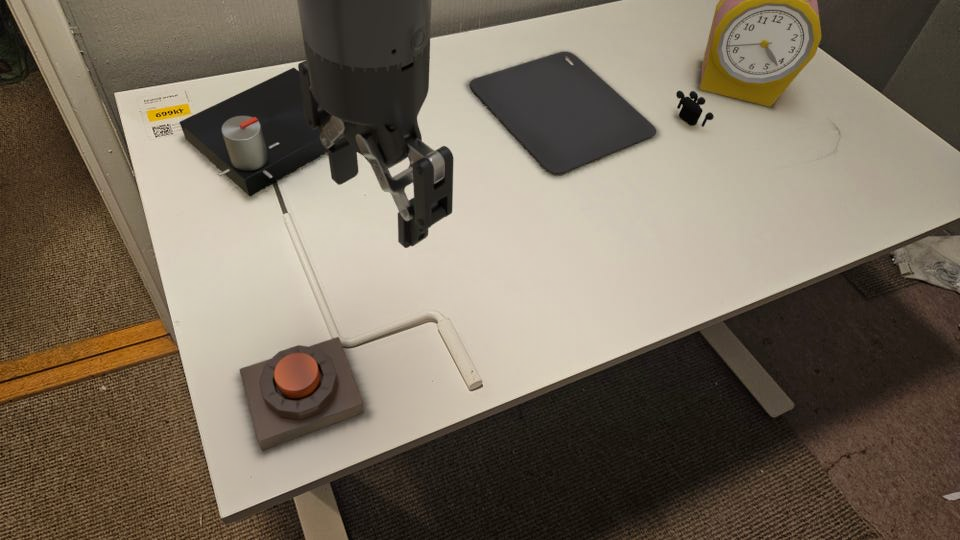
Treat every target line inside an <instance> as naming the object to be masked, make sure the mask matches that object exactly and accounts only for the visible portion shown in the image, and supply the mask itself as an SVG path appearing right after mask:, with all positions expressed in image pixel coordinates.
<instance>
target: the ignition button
mask: <svg viewBox="0 0 960 540" xmlns="http://www.w3.org/2000/svg"><path fill="white" fill-rule="evenodd" d="M274 378H275V381H276V384H277V386H278V389H279V391H280V392H281V393H282V394H283V395H285V396H286V397H289V398H294V399H298V398H303V397H306V396H308V395H310V394H311V393H312V392H313V391H314V390H315V389H316V388H317V386H318V384H319V382H320V373H319V369H318V365H317V362H316V361H315V359H314V358H313V357H311V356H310V355H308V354H305V353H292V354H289V355H287V356H285V357H284V358H282V359H281V360H280V361H279V362H278V364H277V365H276V368H275V371H274Z"/></svg>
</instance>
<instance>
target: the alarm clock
mask: <svg viewBox="0 0 960 540" xmlns="http://www.w3.org/2000/svg"><path fill="white" fill-rule="evenodd" d="M818 4H819V3H818V0H719V1H717V4H716V5H715V9H714V13H713V18H712V22H711V26H710V30H709V34H708V39H707V43H706V46H705V51H704V55H703V60H702V64H701V74H700V83H699V84H700V86H699V90H701V91H703V92H704V91H705V92H709V93H713V94H716V95H720V96H723V97H724V96H725V97H729V98H733V99H736V100H740V101H745V102H749V103H752V104H757V105H761V106H765V107H768V108H770V107H772V106H773V104H774V103H775V102H776V101H777V99H778V98H779V97H781V95H782V94H783V93H784V92H785V90H786V89H787V88H788V87H789V86H790V85H791V83H792V82H793V81H794V80H795V79H796V77H798V75H800V73H801V72H802V71H803V70H804V68H805V67H806V66H807V65H808V64H809V63H810V62H811V61H812V59H814V57H815V56H816V54H817V50H818V48H819V45H820V44H821V40H822V29H821V19H820V13H819V5H818Z"/></svg>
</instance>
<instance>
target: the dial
mask: <svg viewBox="0 0 960 540" xmlns="http://www.w3.org/2000/svg"><path fill="white" fill-rule="evenodd" d="M221 131H222V134H223V138H224V141H225V144H226V147H227V150H228V154H229V157H230V160H231V163H232V165H233V166H234V167H235V168H236V169H238V170H241V171H255V170H258V169H260V168H262V167H263V166H264V165H265V164H266V163H267V161H268V154H267V150H266V146H265V141H264V137H263V133H262V129H261V125H260V123H259V121H258V119H257V118H256V117H250V116H236V117H233V118H230V119H229V120H227V121H226V122H225V123H224V124H223V126H222V129H221Z"/></svg>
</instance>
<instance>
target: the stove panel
mask: <svg viewBox="0 0 960 540" xmlns="http://www.w3.org/2000/svg"><path fill="white" fill-rule="evenodd" d="M319 108H322V107H321V106H320V105H318V108H317V109H319ZM236 116H250V117H256V118H257V119H258V121H259V123H260V125H261V129H262V133H263V137H264V141H265V146H266V150H267V154H268V161H267V163H266V164H265V165H264V166H263V167H262V168H260V169H258V170H255V171H241V170H238V169H236V168H235V167H234V166H233V165H232V163H231V160H230V157H229V154H228V150H227V147H226V144H225V141H224V138H223V134H222V131H221V129H222V126H223V124H224V123H225V122H226V121H227V120H229V119H230V118H233V117H236ZM179 125H180V127H181V131H182V133H183V135H184V138H185V140H186V141H187V142H188V143H189V144H190V145H191V146H192V147H194V148H195V149H196V150H197V151H198V152H199V153H200V154H202V155H203V156H204V157H205V158H206V159H207V160H208V161H209V162H210V163H211V164H213V165H214V166H215V167H216V168H217V169H218V170H219V171H220V172H219V173H218V176H219V177H223V176H226V177H227V178H228V179H229V180H230V181H231V182H233V183H234V184H235V185H236V186H237V187H238V188H240V189H241V190H242V191H243V192H244V193H245V194H246V195H247V196H249V197H252V196H254V195H256V194H257V193H258V192H260V191H262V190H264V189H266V188H267V187H269V186H271V185H273V184H274V183H276V182H278V181H280V180H282V179H283V178H284V177H286V176H288V175H290V174H291V173H293V172H295V171H297V170H299V169H300V168H302V167H304V166H305V165H307V164H309V163H310V162H312V161H314V160H316V159H317V158H319V157H321V156H322V155H324V154H326V153H328V150H327V148H326V147H325V146H324V145H323V144H322V142H321V140H320V134H321V132H320V130H319V129H318V128H316V129H311V128H310V127H309V126H308V125H307V123H306V120H305V114H304V106H303V99H302V91H301V84H300V76H299V69H298V68H296V67H291V68H290V69H288V70H285V71H283V72H282V73H279V74H277V75H275V76H273V77H271V78H268V79H266V80H264V81H262V82H260V83H258V84H256V85H254V86H252V87H250V88H247V89H245V90H243V91H241V92H238V93H237V94H235V95H233V96H231V97H229V98H227V99H225V100H222V101H220V102H218V103H216V104H214V105H212V106H210V107H208V108H206V109H203V110H201V111H199V112H197V113H195V114H192V115H191V116H189V117H187V118H184V119H182V120H180V121H179Z"/></svg>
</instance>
